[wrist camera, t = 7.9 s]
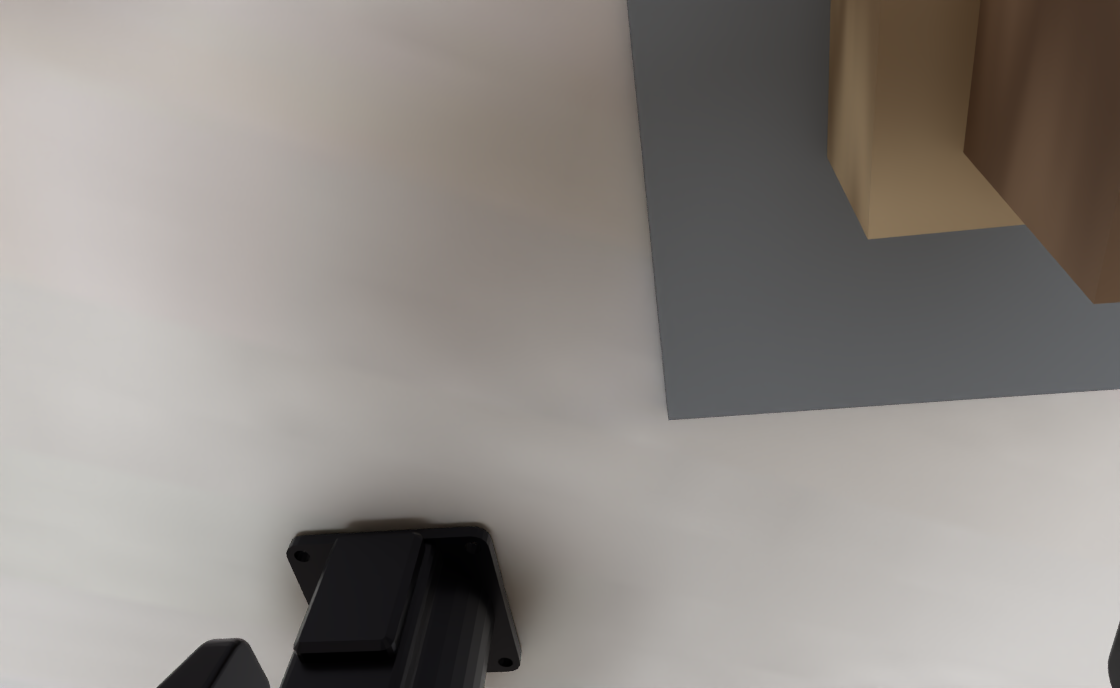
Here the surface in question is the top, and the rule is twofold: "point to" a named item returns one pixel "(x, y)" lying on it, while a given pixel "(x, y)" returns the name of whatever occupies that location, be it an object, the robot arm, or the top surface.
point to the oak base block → (907, 117)
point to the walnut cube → (1053, 128)
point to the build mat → (820, 244)
